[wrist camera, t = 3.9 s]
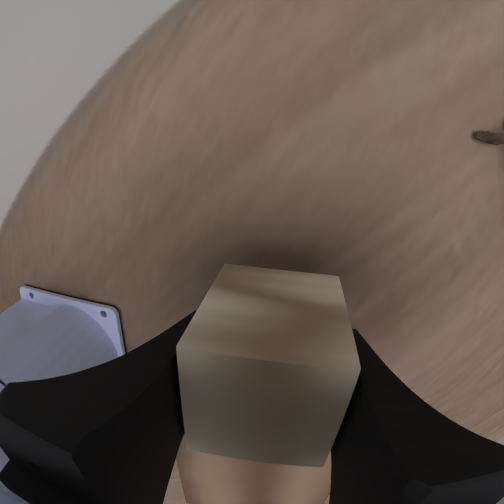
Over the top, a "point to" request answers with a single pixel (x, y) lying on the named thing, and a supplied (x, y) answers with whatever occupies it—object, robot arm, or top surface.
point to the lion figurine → (491, 137)
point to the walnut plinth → (249, 480)
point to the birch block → (267, 366)
